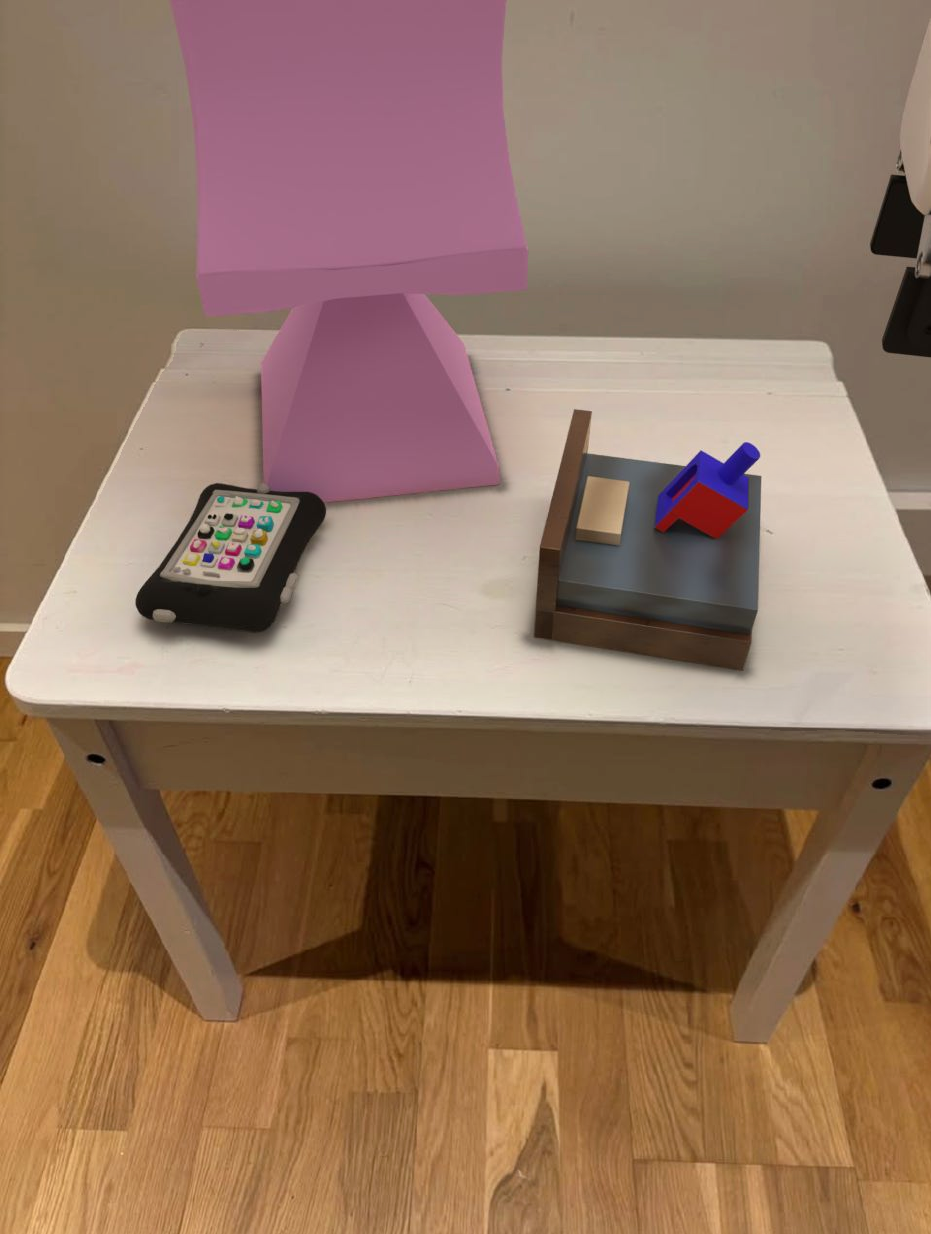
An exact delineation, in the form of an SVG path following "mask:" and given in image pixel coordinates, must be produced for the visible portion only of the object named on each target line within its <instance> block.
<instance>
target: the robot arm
mask: <svg viewBox="0 0 931 1234" xmlns="http://www.w3.org/2000/svg"><path fill="white" fill-rule="evenodd" d="M901 119H902V120H901V124H900V130H899V144H900V149H899V152H898V155H897V159H896V163H895V173H897V174H890V176H889V179H888V180H889V181H888V183H887V186H886V190H885V193H884V196H883V199H882V203H881V206H880V209H879V213H878V216H877V219H876V221H875V222H876V223H875V226H874V228H873V232H872V236H871V239H870V242H869V249H870V252H871V254H873V255H875V256H885V257H895V258H896V257H897V258H907V259H916V261H915V266H906V267H905V271H904V273H903V276H902V279H901V282H900V285H899V289H898V291H897V294H896V297H895V300H894V303H893V306H892V309H891V312H890V314H889V317H888V321H887V324H886V325H885V326H886V327H885V329H884V332H883V335H882V338H881V345H882V350H883V351H884V352H886V353H888V354H896V355H905V356H913V357H922V358H923V357H924V358H931V18H930V19H929V22H928V25H927V29H926V32H925V35H924V38H923V41H922V45H921V48H920V52H919V54H918V58H917V62H916V64H915V68H914V72H913V75H912V79H911V82H910V86H909V89H908V94H907V97H906V102H905V104H904V109H903V114H902V118H901ZM901 174H904V175H901Z"/></svg>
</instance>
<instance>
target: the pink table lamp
mask: <svg viewBox="0 0 931 1234" xmlns="http://www.w3.org/2000/svg"><path fill="white" fill-rule="evenodd" d="M168 2H169V5H170V8H171V11H172V16H173V21H174V26H175V29H176V33H177V37H178V42H179V46H180V51H181V55H182V59H183V63H184V67H185V75H186V80H187V81H186V82H187V88H188V96H189V102H190V108H191V117H192V125H193V127H192V128H193V139H194V152H195V153H194V154H195V166H196V195H197V196H196V197H197V199H196V200H197V227H196V228H197V231H196V232H197V234H196V235H197V237H196V276H195V277H196V280H197V281H196V282H197V285H198V286H197V287H198V290H199V295H200V300H201V303H202V307H203V312H204V313H203V314H204V316H205V318H211V317H223V316H234V315H246V314H248V315H249V314H258V313H268V312H269V313H270V312H271V313H272V312H276V311H281V310H286V309H290V308H292V309H291V310H290V311H289V314H288V315H287V317H286V318H285V321H284V322H283V324H282V326H281V327H280V328H279V330H278V332H277V334H276V336H275V338H274V339H273V340H272V342H271V344H270V346H269V348H268V350H267V351H266V352H265V354H264V356H263V358H262V360H261V361H260V380H261V381H260V383H261V421H262V423H261V424H262V425H261V426H262V464H263V467H262V468H263V469H262V470H263V483H264V484H266V485H268V486H269V488H270V491H280V492H311V493H314V494H316V495H317V496H319V497H320V499H321V500H322V501H323V502H324V504H326V503H333V502H342V501H343V502H345V501H353V500H362V499H372V498H382V497H391V496H400V495H411V494H421V493H429V492H430V493H431V492H440V491H449V490H459V489H468V488H477V487H486V486H495V485H500V471H501V470H500V468H501V467H500V465H499V462H498V458H497V455H496V452H495V447H494V444H493V440H492V437H491V434H490V430H489V427H488V426H489V425H488V423H487V419H486V416H485V413H484V410H483V409H484V408H483V406H482V405H483V404H482V402H481V398H480V394H479V391H478V388H477V384H476V381H475V377H474V373H473V370H472V367H471V363H470V359H469V356H468V353H467V349H466V346H465V343H464V342H463V341H462V339H461V338H460V337H459V335H458V334H457V333H456V331H454V329H453V328H452V327H451V325H450V323H448V322H447V320H446V319H445V317H443V315H442V314H441V312H439V310H438V308H437V307H436V306H435V305H434V303H432V301H431V300H430V299H429V297H428V296H427V295H442V296H443V295H445V296H446V295H450V296H469V295H470V296H471V295H481V294H482V295H483V294H494V293H505V292H516V291H517V292H518V291H527V290H528V270H529V269H528V267H529V247H528V244H527V239H526V234H525V231H524V226H523V221H522V217H521V211H520V207H519V203H518V198H517V193H516V188H515V182H514V178H513V171H512V166H511V160H510V153H509V146H508V145H509V144H508V136H507V130H506V121H505V120H506V119H505V114H504V111H505V109H504V90H503V89H504V88H503V87H504V86H503V85H504V84H503V61H502V60H503V49H504V33H505V21H506V7H507V0H168Z"/></svg>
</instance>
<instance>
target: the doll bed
mask: <svg viewBox="0 0 931 1234" xmlns="http://www.w3.org/2000/svg"><path fill="white" fill-rule="evenodd" d="M592 415H593V411H591V410H584V409H577V408H574V409H573V411H572V415H571V419H570V423H569V428H568V432H567V435H566V440H565V444H564V448H563V451H562V454H561V455H562V456H561V461H560V464H559V467H558V472H557V476H556V480H555V484H554V488H553V492H552V496H551V500H550V504H549V508H548V512H547V515H546V520H545V524H544V528H543V531H542V537H541V540H540V545H539V551H538V565H537V581H536V582H537V583H536V598H535V613H534V625H533V626H534V628H533V638H535V639H542V640H547V641H555V642H563V643H568V644H573V645H580V646H587V647H593V648H598V649H604V650H605V649H606V650H612V651H617V652H625V653H631V654H637V655H642V656H649V657H656V658H662V659H667V660H674V661H680V662H685V663H693V664H700V665H706V666H712V667H718V668H723V669H731V670H737V671H743V670H744V669H745V665H746V662H747V659H748V656H749V653H750V652H749V651H750V650H751V645H752V643H753V642H752V641H753V640H752V639H753V638H752V637H753V627H754V625H755V622H756V618H757V615H758V612H759V590H760V589H759V587H760V586H759V584H760V583H759V582H760V552H761V551H760V548H761V547H760V546H761V545H760V544H761V511H762V510H761V508H762V507H761V506H762V475H757V474H750V473H749V474H748V473H744V474H743V475H745V476H747V477H748V478H749V495H748V511H746V512H745V513H744V514H743V515H742V516H741V517H740V518H739V519H738V520H737V521H736V522H735V523H734V524H733V525H732V526H731V527H730V528H729V529H728V530H727V531H725V532H724V533H723V534H722V535H721V536H720V537H719V538H718V539H715V538H713V537H712V536H710V535H708V534H706V533H704V532H703V531H701V530H699V529H697V528H695V527H694V526H692V525H690V524H688V523H686V522H685V521H683V520H681V519H679V518H678V519H677V520H676V521H675V522H674V523H673V524H672V525H671V526H670V527H669V528H668V529H667V530H666V531H665V532H662V531H660V530H658V529H656V528H655V519H656V509H657V500H658V496H659V494H660V493H661V492H662V491H663V490H664V489H665V488H666V487H667V486H668V485H669V484H670V483H671V482H672V481H673V479H674V478H675V477H676V476H677V475H678V474H679V473H680V472H681V471H682V470H683V469H684V468H685V467H686V465H681V464H672V463H666V462H657V461H650V460H643V459H633V458H627V457H619V456H611V455H603V454H597V453H589V443H590V433H591V424H592Z"/></svg>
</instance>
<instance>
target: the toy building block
mask: <svg viewBox="0 0 931 1234" xmlns="http://www.w3.org/2000/svg"><path fill="white" fill-rule="evenodd" d="M760 458H761V452H760V451H759V449H758V448H757V447H756V445H754V444H753V443H751V442H748V441H745V442H742V444H741V445H740V446H739V447H738V448H737V449H736V450H735V451H734V452H733V453H732V454H731V455H730V456H729V457H728V458H727V459H726V461H724V462H723V461H720V460H719V459H718V458H715V457H714V456H712V455H711V454H708V453H707V452H705V451H704V450H701V449H700V450H699V451H698V453H697V454H696V455H695V456H693V458H691V460H690V461H689V462H688V463H687V464H686V465H685V466H686V467H685V468H684V469H683V470H682V471H681V472H680V473H679V474H678V475H677V476H676V477H675V478H674V479H673V481H672V482H671V483H670V484H669V485H668V486H667V487H666V488H665V489H664V490H663V491H662V492H661V493H660V494H659V496H658V500H657V509H656V519H655V528H656V529H658V530H660V531H662V532H665V531H666V530H667V529H668V528H669V527H670V526H671V525H672V524H673V523H674V522H675V521H676V520H677V519H678V518H679V519H681V520H683V521H685V522H686V523H688V524H690V525H692V526H694V527H695V528H697V529H699V530H701V531H703V532H704V533H706V534H708V535H710V536H712V537H713V538H715V539H718V538H719V537H720V536H721V535H722V534H723V533H724V532H725V531H727V530H728V529H729V528H730V527H731V526H732V525H733V524H734V523H735V522H736V521H737V520H738V519H739V518H740V517H741V516H742V515H743V514H744V513H745V512H746V511H748V495H749V478H748V477H747V476H745V475H743V474H746V472H748V471H749V469H750V468H751V467H752V466H754V465H755V464H756V462H758V460H760Z"/></svg>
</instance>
